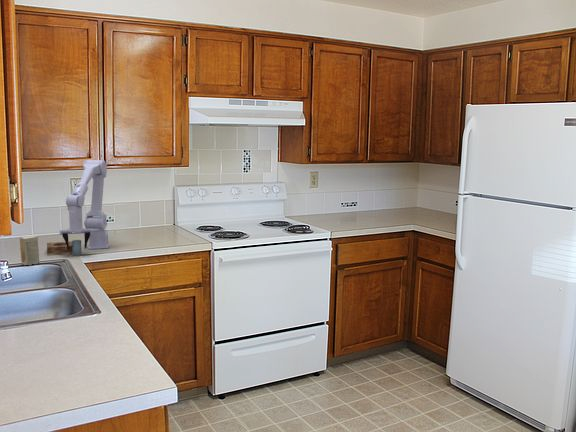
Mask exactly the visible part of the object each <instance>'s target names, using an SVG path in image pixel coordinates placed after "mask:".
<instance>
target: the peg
mask: <svg viewBox="0 0 576 432" xmlns="http://www.w3.org/2000/svg"><path fill="white" fill-rule="evenodd" d="M71 242H72V250H73V254H72V256H73V257H79V256H82V255H83V254H82V253H83V252H82V240H81V239H73V240H71Z"/></svg>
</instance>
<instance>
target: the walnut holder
mask: <svg viewBox="0 0 576 432" xmlns="http://www.w3.org/2000/svg"><path fill="white" fill-rule="evenodd" d="M68 244H69V250H67V245H66V242H65V241H61V242H60V241H57V242H46V253H47V256H58V255H59V256H60V255H61V256H62V255H73V250H72V241H68Z"/></svg>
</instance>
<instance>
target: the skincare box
mask: <svg viewBox="0 0 576 432" xmlns="http://www.w3.org/2000/svg"><path fill="white" fill-rule="evenodd" d="M19 245H20V259H21V260H20V261H21V265H22V264H24V265H23V266H25V265H29V266H33V265H32V264H34V265H38V263H39V264H40V252H39V250H40V249H39V240H38V236H36V235H28V236H23V237H19Z"/></svg>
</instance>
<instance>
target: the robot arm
mask: <svg viewBox="0 0 576 432" xmlns="http://www.w3.org/2000/svg"><path fill="white" fill-rule="evenodd" d="M82 168H83V169H82V170H83V172H82V175H81V177H80V181H78V182H76V184H75V186H74V187H73V190H72V192H71V194H69V195H68V196H67V197H66V199H65V200H66V201H65V204H66V206H67V211H68V220H69V229H59V235H61V236H62V238H63V239H64V240H63V241H64V242H66V245H67V250H69V244H68V242H69V235H73V234H74V235H77V234H78V235H79V234H83V235H84V237H83V238H84V249H87V248H88V250H95V249H108V248H109V243H110V242H109V231H108V229H106V228H107V226H108V221H107V220H108V218H107V214H105V213H104V212H103V211H102V210H103V209H102V208H103V198H104V197H103V196H104V184H105V183H104V182H105V181H104V180H105V178H106V177H107V171H108V165H107V162H106V161H105V160H104V159H100V160H99V159H96V160H95V159H85V160H84V161H83V164H82ZM91 180H93V181H92V191H91V193H92V194H91V202H90V203H91V204H90V205H91V206H90V210H89V211H88V212H87V213H86V214H85V219H84V222H83V206H85V199H86V197H85V196H86V194H87V192H88V190H89V186H88V184H89V183H90V181H91ZM83 225H84V226H83ZM83 227H84V228H83Z"/></svg>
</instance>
